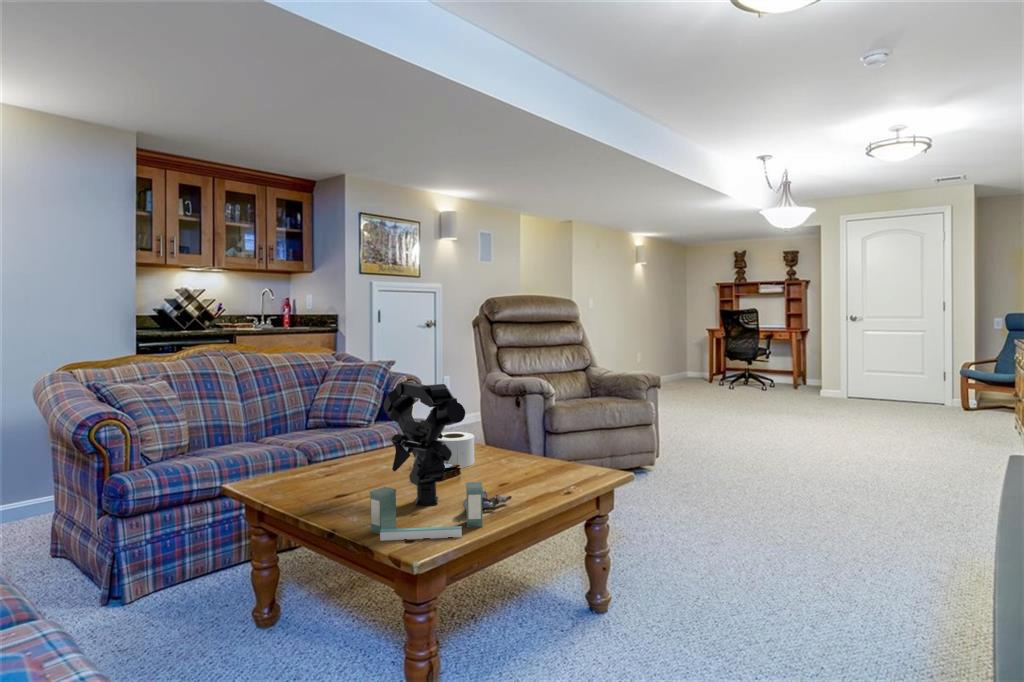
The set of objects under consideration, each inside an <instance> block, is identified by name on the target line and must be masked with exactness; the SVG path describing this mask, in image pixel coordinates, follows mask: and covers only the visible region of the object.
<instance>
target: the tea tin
mask: <svg viewBox="0 0 1024 682" xmlns="http://www.w3.org/2000/svg"><path fill="white" fill-rule="evenodd" d="M396 493H397V489H396V488H392V487H388V486H383V487H380V488H377V489H372V490H369V495H370V532H371V533H372V534H376V535H379V534H380V530H381V529H397V494H396Z"/></svg>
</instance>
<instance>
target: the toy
mask: <svg viewBox="0 0 1024 682" xmlns="http://www.w3.org/2000/svg"><path fill="white" fill-rule="evenodd" d="M511 499H512V496H511V495H509V496H507V497H504V496H501V495H500V494H496V495H495V496H493V497H491V498H488V493H487V490H482V511H484V510H486V509H487V508H491V507H493V508H496V506H497V505H499V504H500V503H501V504H502V503H504V504H505V503H506V502H508V501H509V500H511ZM462 506H463V507H464V509H465V510H466V511H467V498H465V500H463V502H462Z"/></svg>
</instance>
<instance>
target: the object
mask: <svg viewBox="0 0 1024 682" xmlns="http://www.w3.org/2000/svg"><path fill="white" fill-rule="evenodd" d="M441 434H442V435H443V437H442V439H439V438H438V440H437V441H442V442H444V443H445V444H446V445H447V446H448V448H449V449H450V450H451V452H452V456H451V457H450V459H449V461H444V462H448V463H454V464H458V465H460V467H466V468H468V467H467V466H470V465H472V464H473V463H474V464H475V435H474V434H473V433H470V432H465V431H464V432H463V431H447V432H442V433H441ZM474 464H473V465H474ZM473 465H472V466H473ZM470 467H471V466H470Z"/></svg>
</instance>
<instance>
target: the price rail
mask: <svg viewBox="0 0 1024 682" xmlns="http://www.w3.org/2000/svg"><path fill="white" fill-rule="evenodd" d="M462 527H463V526H462V525H459V526H457V525H455V526H454V525H453V526H452V525H451V526H433V527H432V526H431V527H430V526H429V527H407V528H406V527H405V528H396V529H381V530H380V535H379V538H380V539H379V540H380V541H381V542H382V541H402V540H404V539H407V540H424V539H423V538H430V539H449V538H448V537H453V538H462V537H463V536H462V535H463V533H462V529H463V528H462Z"/></svg>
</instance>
